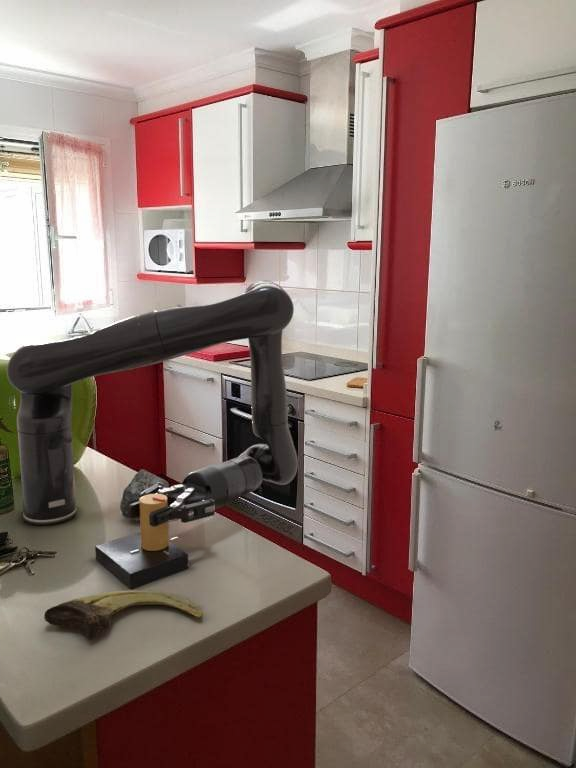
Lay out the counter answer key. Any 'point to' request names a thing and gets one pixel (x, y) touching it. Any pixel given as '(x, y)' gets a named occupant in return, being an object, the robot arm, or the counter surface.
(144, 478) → the stone
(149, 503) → the tan cylinder
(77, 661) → the counter surface
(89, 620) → the claw
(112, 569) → the panel
